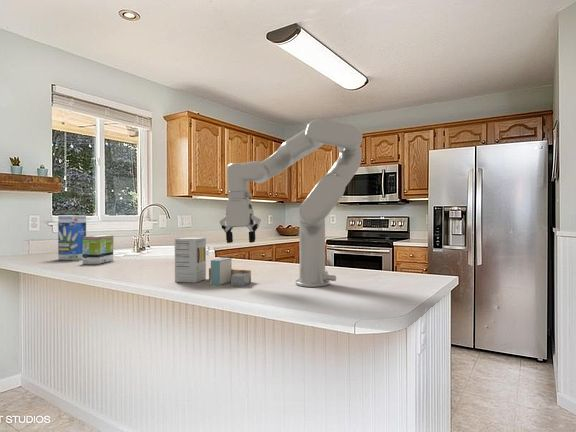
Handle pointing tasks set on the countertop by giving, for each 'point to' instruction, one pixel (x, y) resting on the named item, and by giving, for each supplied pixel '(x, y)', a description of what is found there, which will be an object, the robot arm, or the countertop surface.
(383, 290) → the countertop surface
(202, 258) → the supplement box
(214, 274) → the book
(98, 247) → the tea box
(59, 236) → the string lights box
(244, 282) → the grey rounded block
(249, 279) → the rail
